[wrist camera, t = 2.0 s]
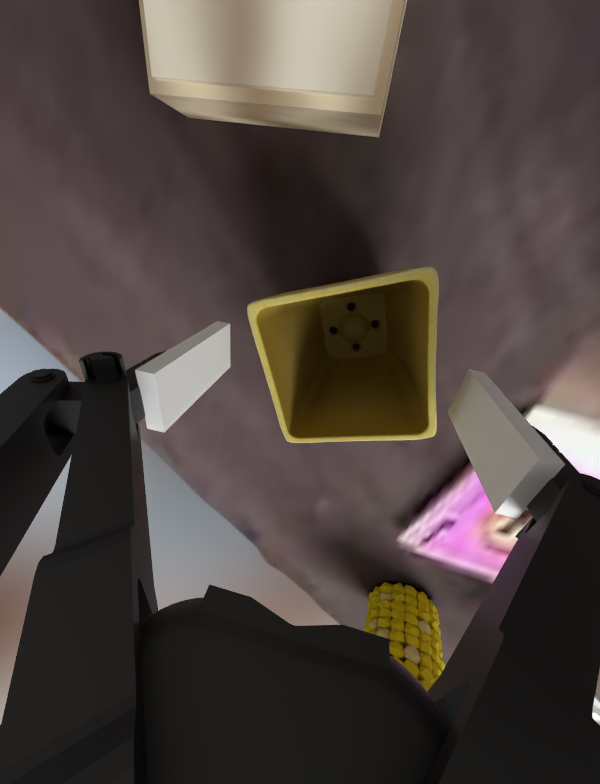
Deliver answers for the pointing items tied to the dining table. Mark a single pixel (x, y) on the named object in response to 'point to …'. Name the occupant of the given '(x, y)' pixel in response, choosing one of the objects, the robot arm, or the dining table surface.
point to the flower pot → (352, 357)
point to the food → (407, 629)
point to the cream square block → (274, 60)
